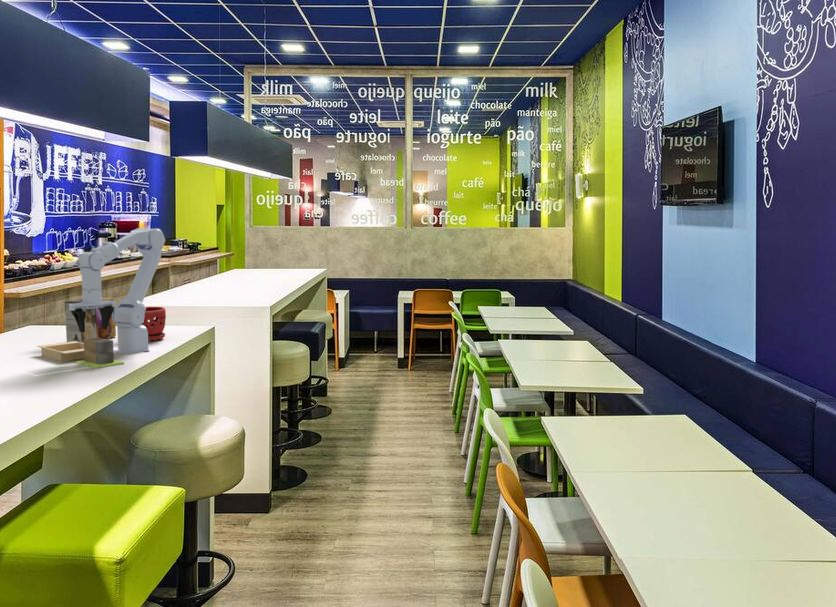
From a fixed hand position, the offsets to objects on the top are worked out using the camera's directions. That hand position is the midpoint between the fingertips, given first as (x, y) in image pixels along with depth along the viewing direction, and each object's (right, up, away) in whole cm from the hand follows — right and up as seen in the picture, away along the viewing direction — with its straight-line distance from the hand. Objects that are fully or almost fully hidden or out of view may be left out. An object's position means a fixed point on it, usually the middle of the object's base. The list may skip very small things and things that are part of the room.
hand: (93, 330), depth 242 cm
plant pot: (+4, -5, +39) cm, 39 cm away
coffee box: (-17, -6, +28) cm, 33 cm away
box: (+5, -10, -7) cm, 13 cm away
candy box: (-14, -5, +41) cm, 43 cm away
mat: (+5, -10, -6) cm, 13 cm away
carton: (-9, -9, +3) cm, 13 cm away
